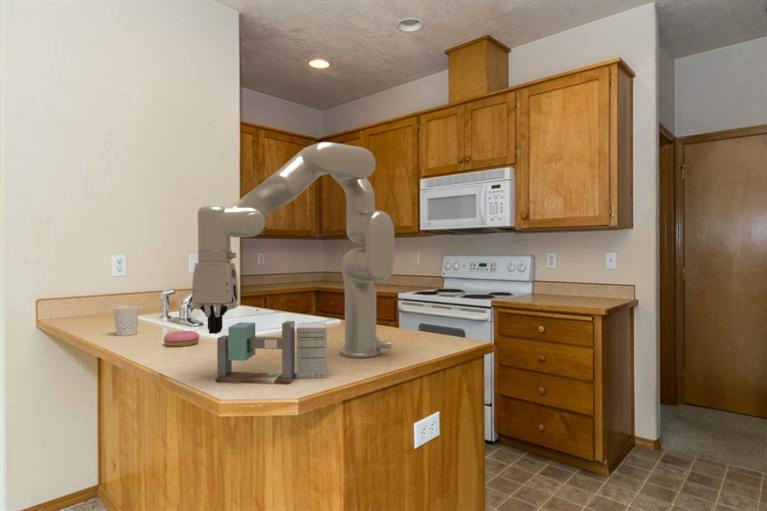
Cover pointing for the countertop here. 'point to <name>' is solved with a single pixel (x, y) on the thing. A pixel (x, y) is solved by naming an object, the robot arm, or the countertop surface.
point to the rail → (262, 343)
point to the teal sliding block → (240, 341)
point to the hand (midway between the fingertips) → (215, 332)
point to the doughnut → (181, 338)
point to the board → (254, 378)
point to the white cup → (126, 320)
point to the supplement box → (311, 350)
